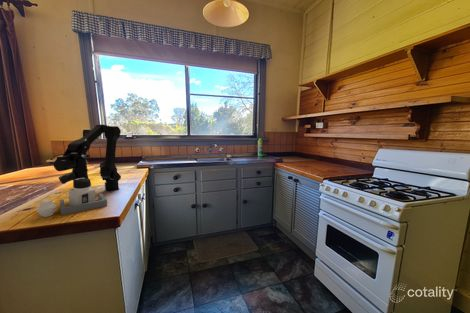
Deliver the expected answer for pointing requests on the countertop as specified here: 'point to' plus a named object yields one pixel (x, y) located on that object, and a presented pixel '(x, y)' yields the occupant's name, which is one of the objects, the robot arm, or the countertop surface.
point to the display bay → (83, 205)
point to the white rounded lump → (46, 208)
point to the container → (81, 192)
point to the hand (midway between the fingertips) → (82, 196)
